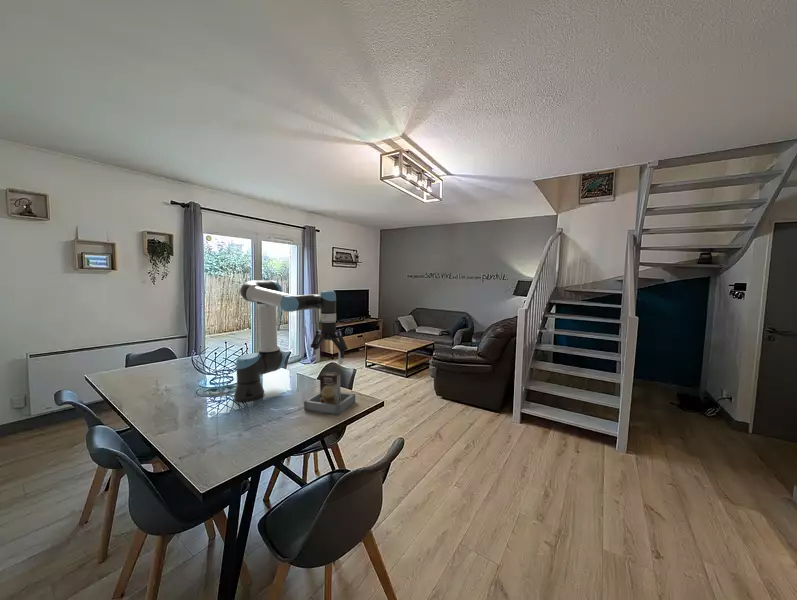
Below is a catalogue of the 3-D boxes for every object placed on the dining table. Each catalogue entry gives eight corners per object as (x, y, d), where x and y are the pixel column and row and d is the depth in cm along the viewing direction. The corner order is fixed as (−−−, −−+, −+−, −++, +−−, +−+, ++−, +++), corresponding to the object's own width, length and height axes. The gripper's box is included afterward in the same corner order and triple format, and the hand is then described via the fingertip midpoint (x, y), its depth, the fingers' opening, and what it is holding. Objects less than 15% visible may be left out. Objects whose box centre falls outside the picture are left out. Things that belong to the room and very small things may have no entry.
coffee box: (319, 406, 154) (319, 375, 153) (324, 401, 160) (323, 371, 159) (337, 407, 153) (336, 376, 152) (341, 402, 159) (340, 372, 158)
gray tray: (304, 410, 152) (303, 401, 152) (323, 397, 168) (323, 389, 168) (338, 416, 145) (338, 406, 145) (355, 402, 161) (355, 394, 161)
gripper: (303, 321, 154) (304, 362, 156) (346, 324, 146) (346, 367, 147) (312, 319, 161) (312, 358, 163) (354, 321, 153) (354, 363, 154)
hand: (329, 362), depth 155 cm, fingers open, 13 cm apart
